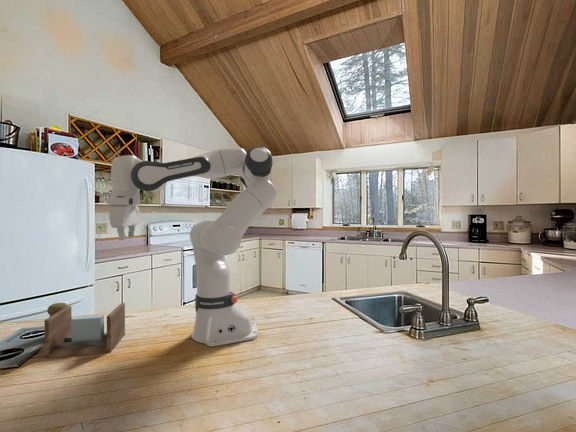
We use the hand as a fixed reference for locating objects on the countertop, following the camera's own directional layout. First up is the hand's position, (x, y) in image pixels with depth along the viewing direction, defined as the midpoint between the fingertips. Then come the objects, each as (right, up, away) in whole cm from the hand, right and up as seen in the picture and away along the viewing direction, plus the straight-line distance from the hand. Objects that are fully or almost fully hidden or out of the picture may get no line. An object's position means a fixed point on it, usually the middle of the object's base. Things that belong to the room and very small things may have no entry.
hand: (127, 238), depth 102 cm
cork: (-19, -32, -8) cm, 38 cm away
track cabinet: (-4, -33, -14) cm, 36 cm away
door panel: (-4, -32, -14) cm, 35 cm away
